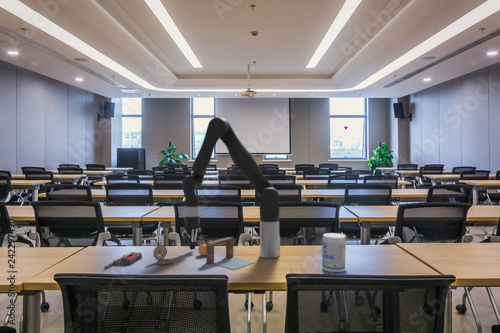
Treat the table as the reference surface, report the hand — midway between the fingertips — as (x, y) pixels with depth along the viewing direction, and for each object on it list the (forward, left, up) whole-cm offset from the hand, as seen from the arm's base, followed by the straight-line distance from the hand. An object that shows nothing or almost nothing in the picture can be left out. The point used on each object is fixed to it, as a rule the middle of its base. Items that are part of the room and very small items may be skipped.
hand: (192, 249), depth 171 cm
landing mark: (0, +29, -1) cm, 29 cm away
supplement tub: (-22, +67, -2) cm, 71 cm away
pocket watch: (+20, +4, -2) cm, 21 cm away
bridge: (0, +21, -1) cm, 21 cm away
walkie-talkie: (+32, -8, -2) cm, 33 cm away
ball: (0, +9, +1) cm, 9 cm away
